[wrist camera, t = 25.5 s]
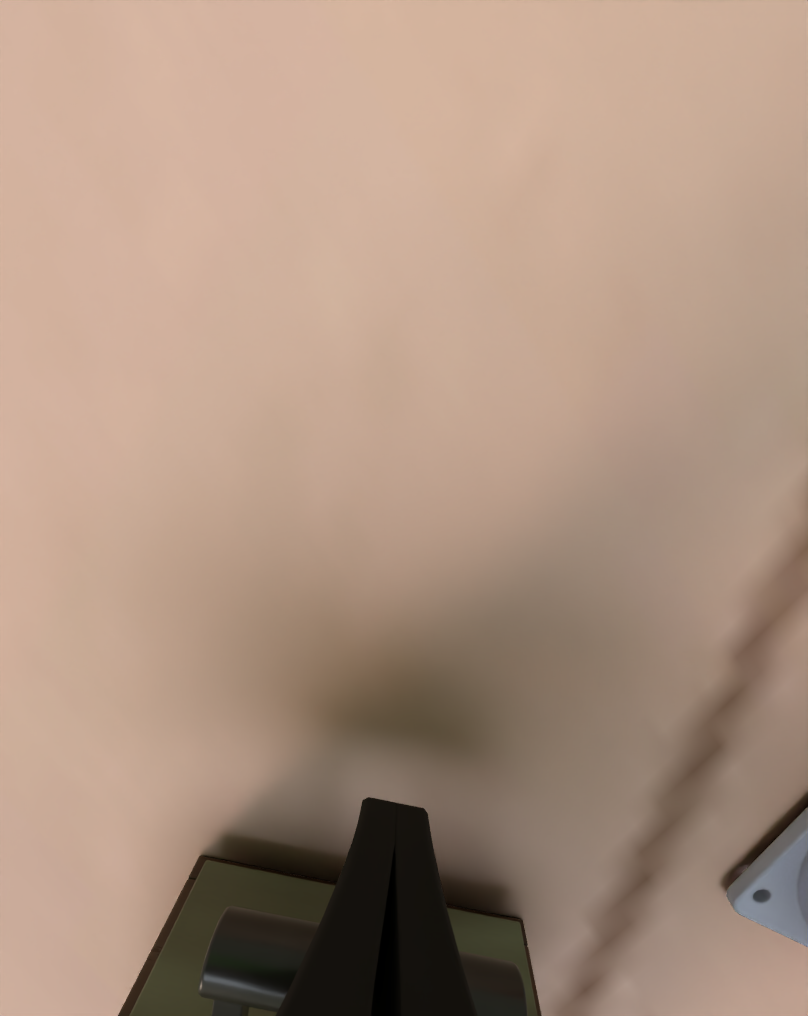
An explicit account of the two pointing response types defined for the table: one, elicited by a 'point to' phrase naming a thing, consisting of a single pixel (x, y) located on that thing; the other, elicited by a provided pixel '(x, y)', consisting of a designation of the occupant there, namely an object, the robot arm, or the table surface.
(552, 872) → the table surface
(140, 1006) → the drawer
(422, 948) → the robot arm
